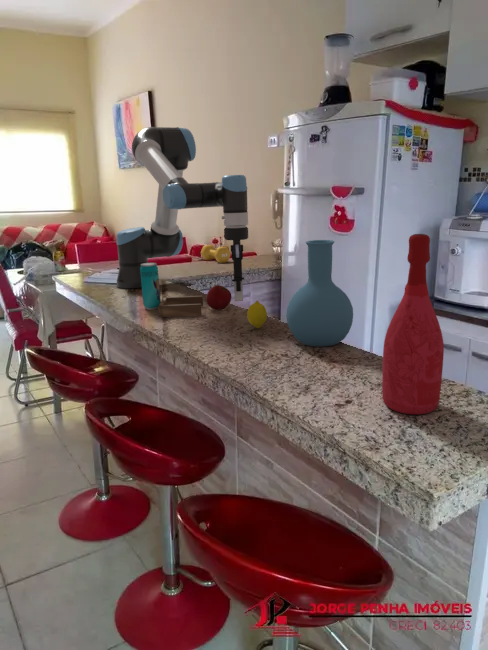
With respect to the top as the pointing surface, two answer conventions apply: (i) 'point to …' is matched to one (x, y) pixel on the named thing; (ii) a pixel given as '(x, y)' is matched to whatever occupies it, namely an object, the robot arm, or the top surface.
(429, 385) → the wine bottle
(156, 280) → the beverage can
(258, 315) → the fruit
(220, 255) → the dumbbell
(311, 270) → the vase
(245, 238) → the robot arm
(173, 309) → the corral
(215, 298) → the apple
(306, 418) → the top surface
